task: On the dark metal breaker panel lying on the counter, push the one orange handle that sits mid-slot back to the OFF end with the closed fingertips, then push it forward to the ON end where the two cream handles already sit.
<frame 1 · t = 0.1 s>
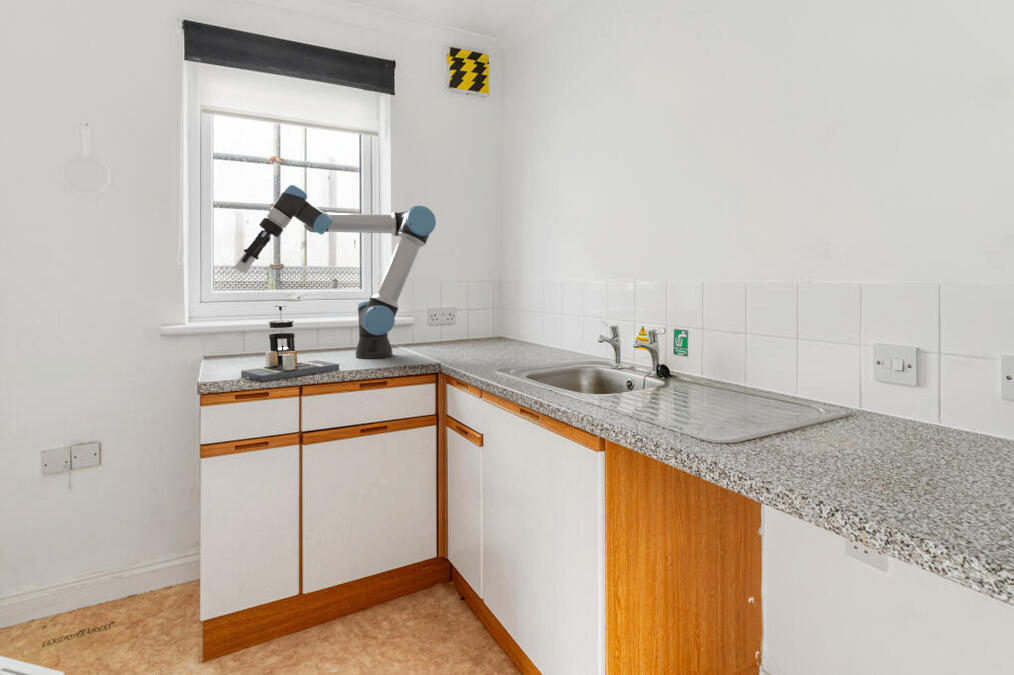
hand: (239, 270, 189), 36 cm above the worktop, tool tilted 35°, fingers open, 13 cm apart
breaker: (291, 358, 184), point 5 cm above the worktop, slide at 4.0 cm
french press: (282, 366, 200), on the worktop
panel: (291, 372, 184), on the worktop
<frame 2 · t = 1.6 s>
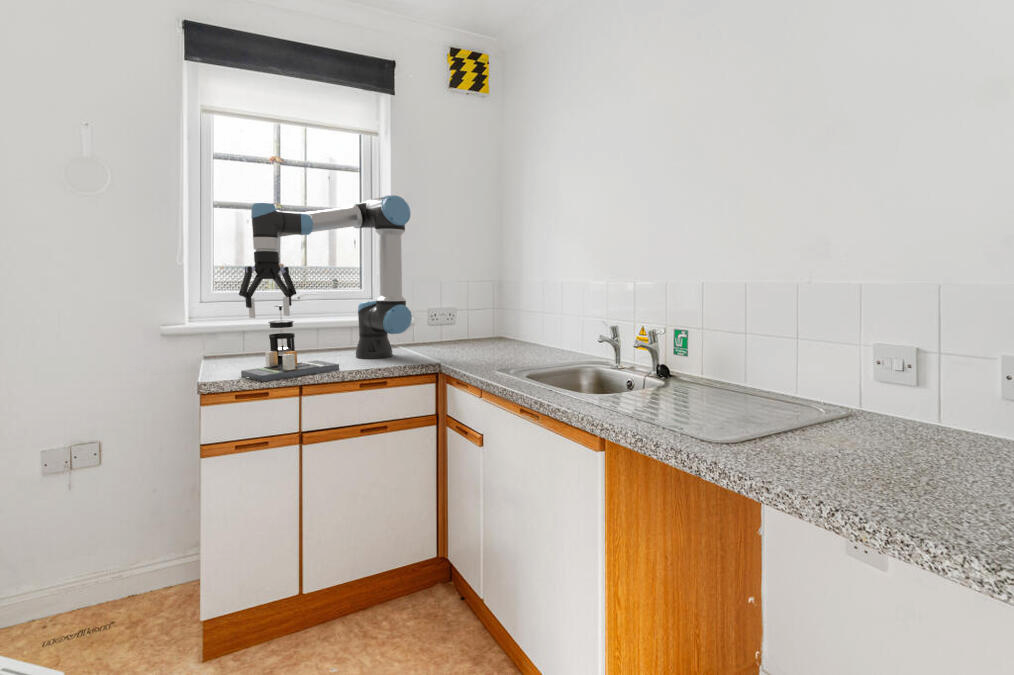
hand: (270, 316, 177), 20 cm above the worktop, tool pointing down, fingers open, 11 cm apart
nothing on the worktop moved.
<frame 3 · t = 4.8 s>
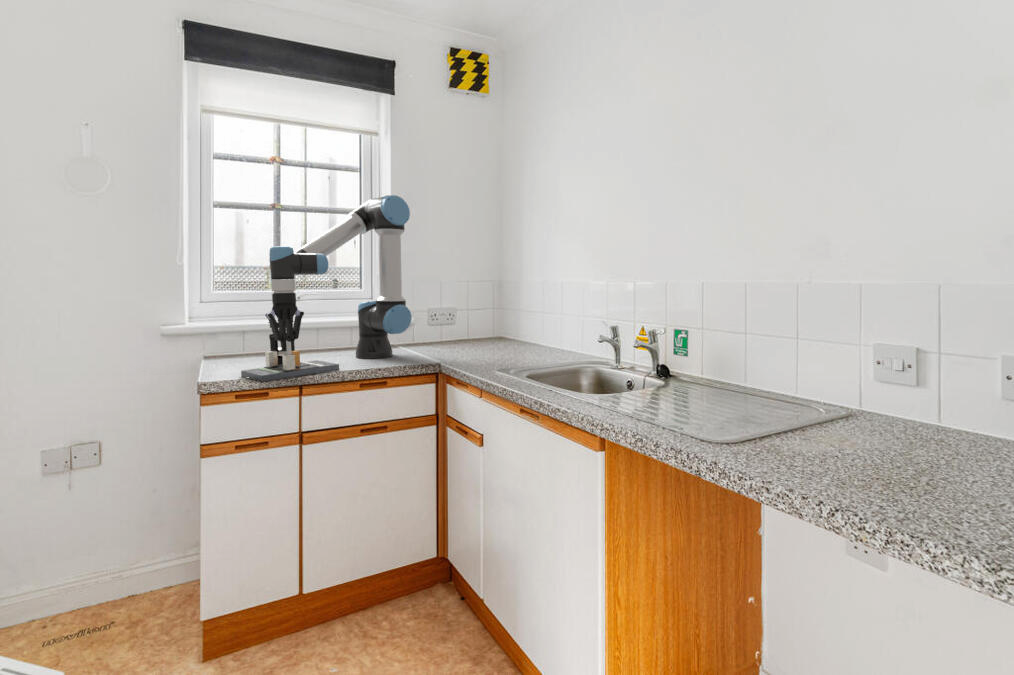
hand: (288, 360, 183), 5 cm above the worktop, tool pointing down, fingers closed
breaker: (294, 358, 185), point 5 cm above the worktop, slide at 2.9 cm, touching gripper
everything else where it was.
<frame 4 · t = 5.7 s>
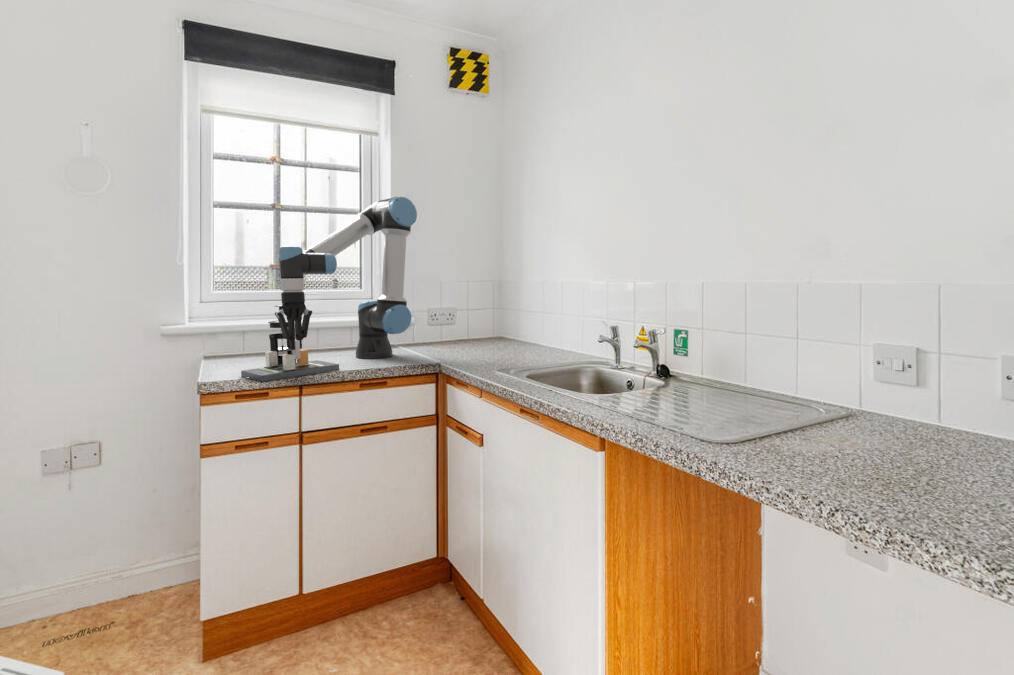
hand: (296, 358, 185), 5 cm above the worktop, tool pointing down, fingers closed
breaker: (302, 357, 187), point 5 cm above the worktop, slide at -0.2 cm, touching gripper
everything else where it was.
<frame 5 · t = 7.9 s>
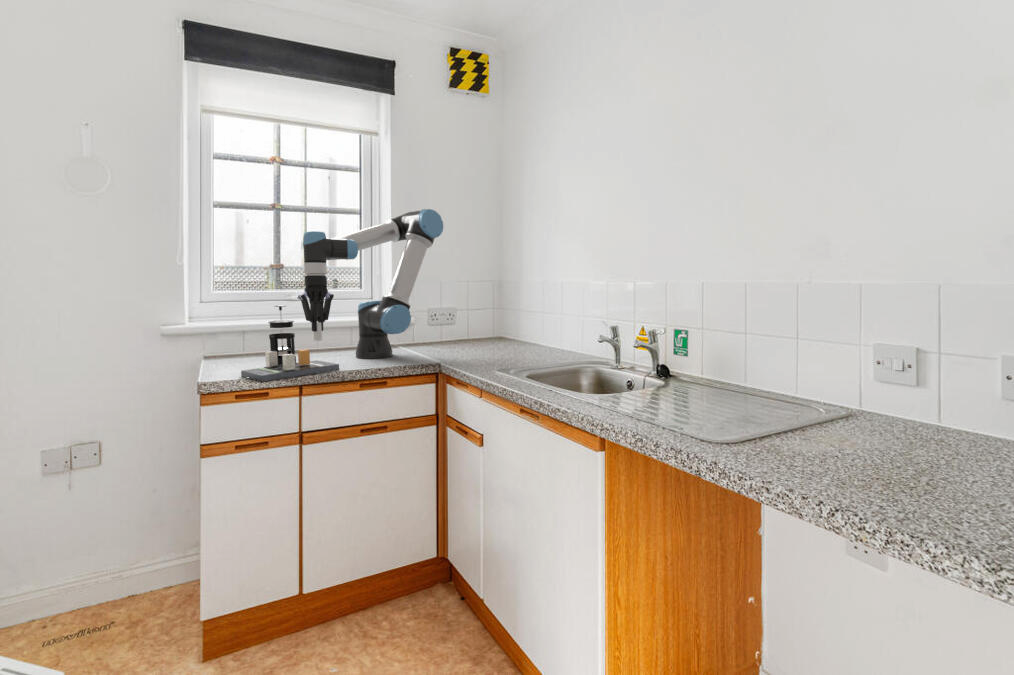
hand: (318, 340, 191), 11 cm above the worktop, tool pointing down, fingers closed
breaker: (303, 357, 187), point 5 cm above the worktop, slide at -0.8 cm
everything else where it was.
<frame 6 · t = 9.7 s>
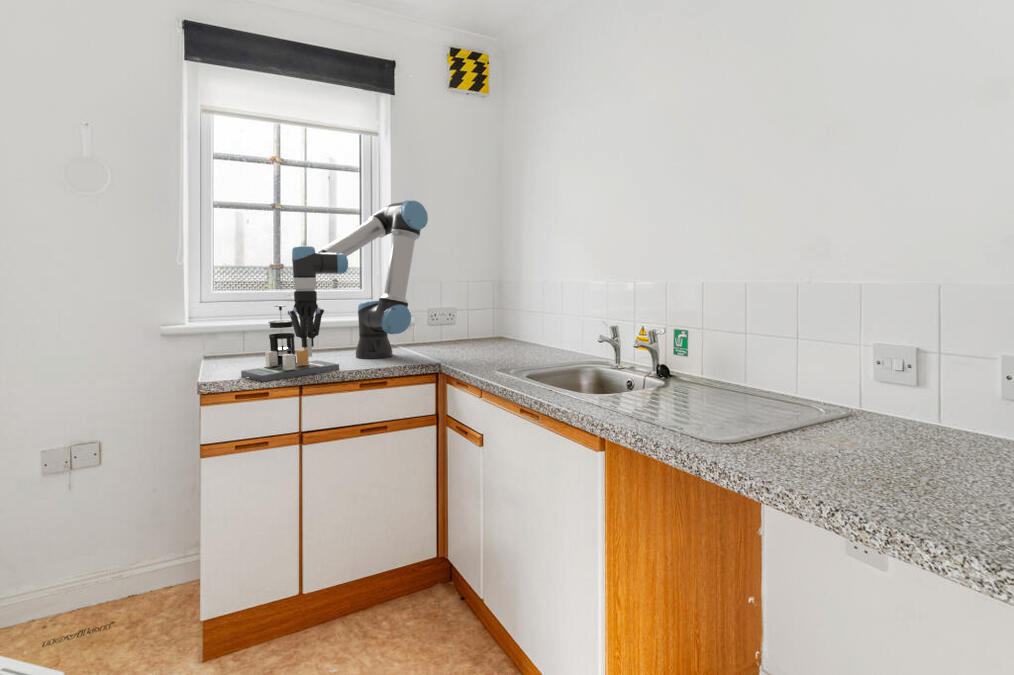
hand: (308, 356, 189), 5 cm above the worktop, tool pointing down, fingers closed
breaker: (302, 357, 187), point 5 cm above the worktop, slide at -0.2 cm, touching gripper
everything else where it was.
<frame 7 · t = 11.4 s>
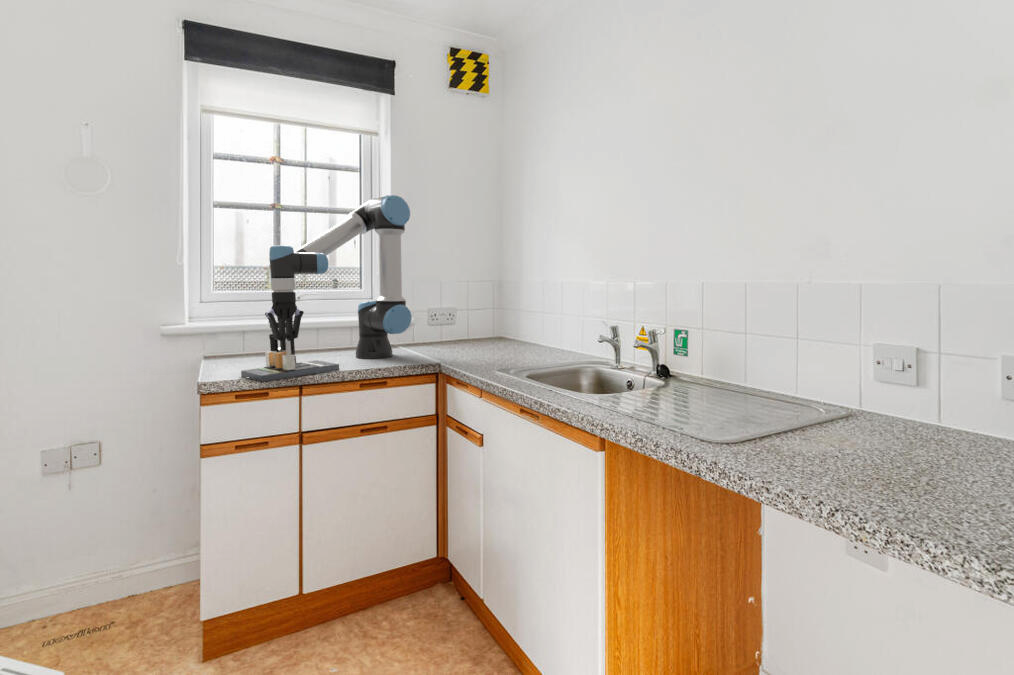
hand: (287, 359, 183), 5 cm above the worktop, tool pointing down, fingers closed
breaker: (281, 360, 181), point 5 cm above the worktop, slide at 7.6 cm, touching gripper
everything else where it was.
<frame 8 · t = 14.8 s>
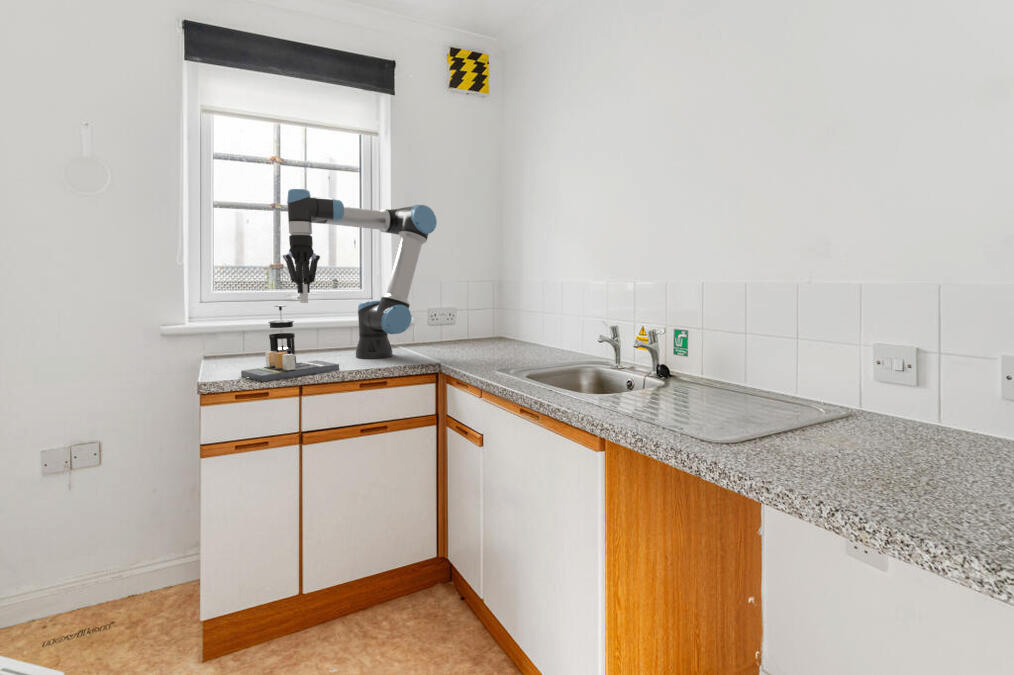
hand: (304, 302, 186), 24 cm above the worktop, tool pointing down, fingers closed
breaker: (280, 360, 181), point 5 cm above the worktop, slide at 7.7 cm
everything else where it was.
at the end: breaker slide at 7.7 cm; the gripper is holding nothing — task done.
